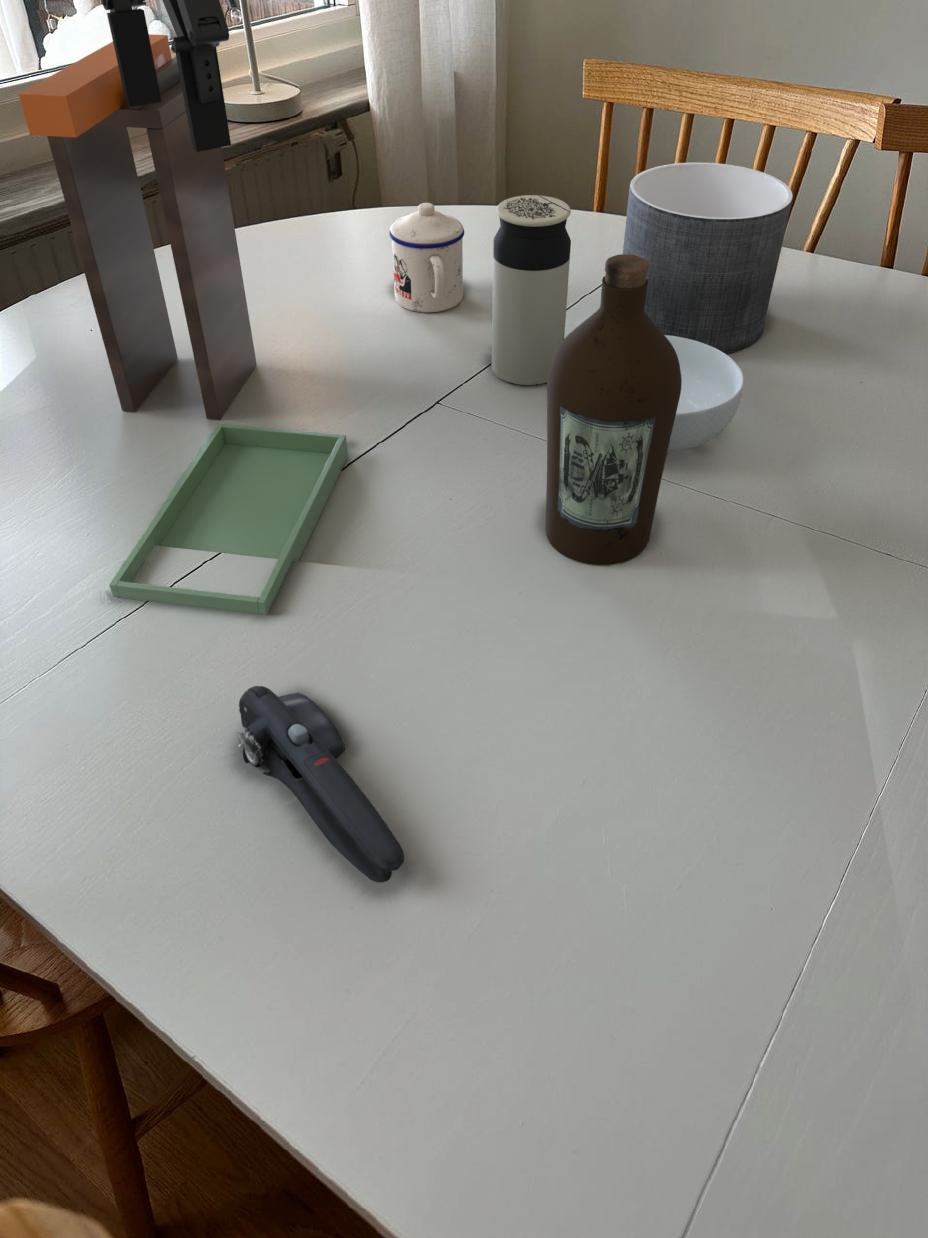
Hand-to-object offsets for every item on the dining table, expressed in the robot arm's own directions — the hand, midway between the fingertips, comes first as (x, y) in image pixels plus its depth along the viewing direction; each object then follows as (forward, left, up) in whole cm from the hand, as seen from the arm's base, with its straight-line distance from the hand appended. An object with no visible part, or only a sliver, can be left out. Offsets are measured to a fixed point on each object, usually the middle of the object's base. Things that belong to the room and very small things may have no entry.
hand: (176, 124), depth 76 cm
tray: (+4, -10, -31) cm, 33 cm away
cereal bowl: (+40, +12, -31) cm, 52 cm away
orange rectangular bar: (-10, +9, -1) cm, 14 cm away
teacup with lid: (+12, +38, -31) cm, 51 cm away
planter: (+44, +38, -31) cm, 66 cm away
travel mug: (+26, +23, -31) cm, 47 cm away
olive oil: (+36, -6, -31) cm, 48 cm away
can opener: (+20, -39, -31) cm, 54 cm away
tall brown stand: (-10, +13, -31) cm, 35 cm away
